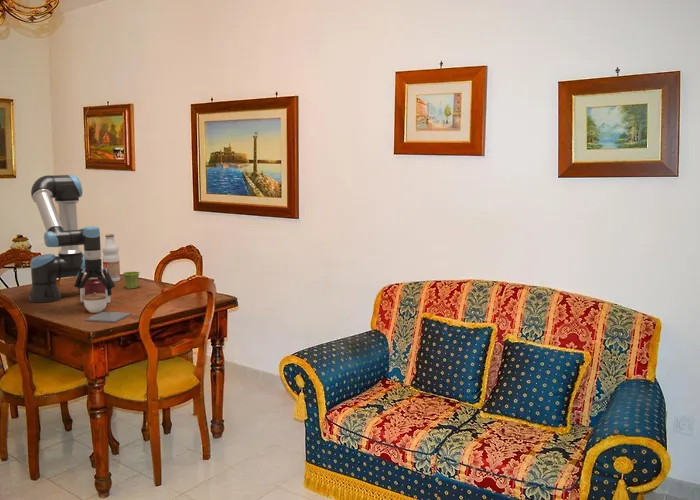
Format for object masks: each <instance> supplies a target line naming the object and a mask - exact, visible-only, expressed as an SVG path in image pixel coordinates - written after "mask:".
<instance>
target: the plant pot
mask: <svg viewBox="0 0 700 500" xmlns="http://www.w3.org/2000/svg"><path fill="white" fill-rule="evenodd" d="M140 273H141V272H139V271H125V272H122V275H123V279H124V284H125V288H126V289H129V290H131V289H137V288H138V284H139V276H140Z"/></svg>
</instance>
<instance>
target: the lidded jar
mask: <svg viewBox="0 0 700 500" xmlns="http://www.w3.org/2000/svg"><path fill="white" fill-rule="evenodd" d="M83 299H84V305H85V306H84V305H83V306H84V308H85V309H86V310H87V311H88V313H92V314H94V313H95V314H98V313H101V312H103V311H104V310H105V308H106V307H107V304H106V294H101V293H96V292H94V294H88V295H85V296H83Z"/></svg>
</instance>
